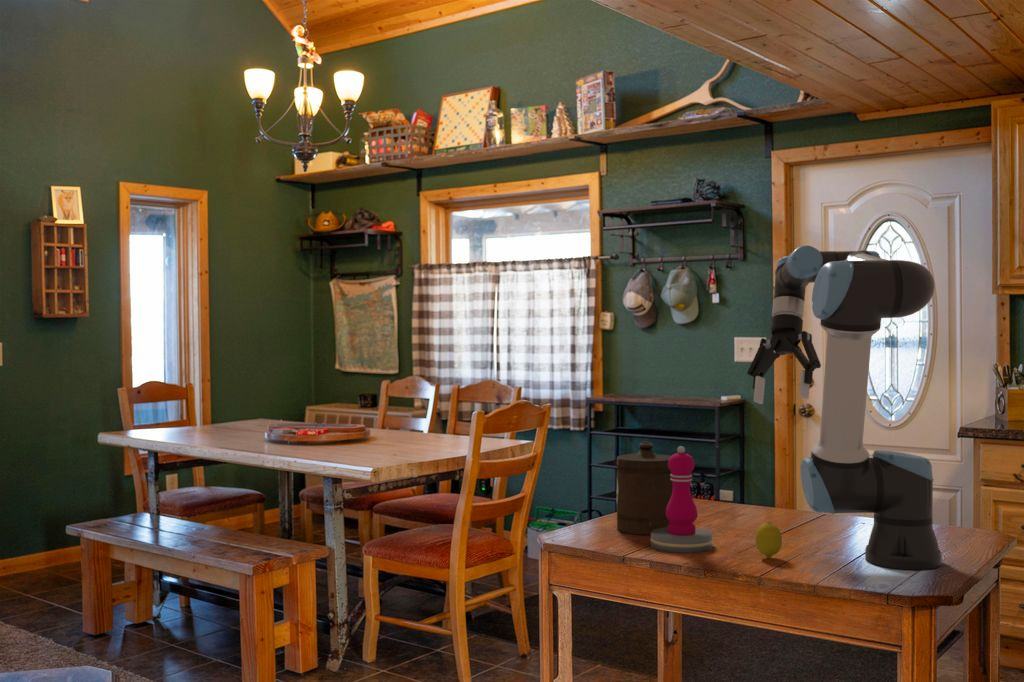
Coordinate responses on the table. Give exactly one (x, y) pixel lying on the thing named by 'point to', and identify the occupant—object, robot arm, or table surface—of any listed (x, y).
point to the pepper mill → (681, 495)
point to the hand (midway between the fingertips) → (780, 400)
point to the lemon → (768, 539)
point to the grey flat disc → (681, 541)
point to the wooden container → (643, 491)
